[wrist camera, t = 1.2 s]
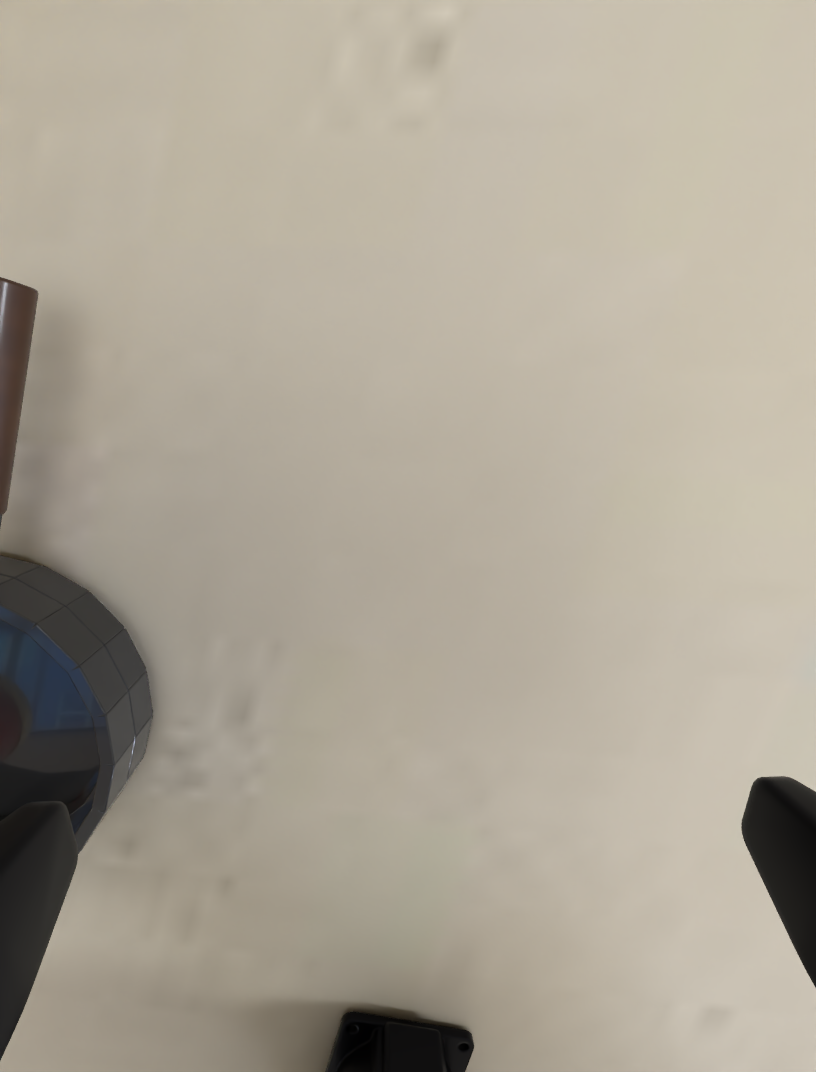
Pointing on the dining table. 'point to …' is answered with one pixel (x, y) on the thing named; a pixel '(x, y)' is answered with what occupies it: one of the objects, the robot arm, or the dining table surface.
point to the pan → (66, 697)
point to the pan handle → (13, 371)
